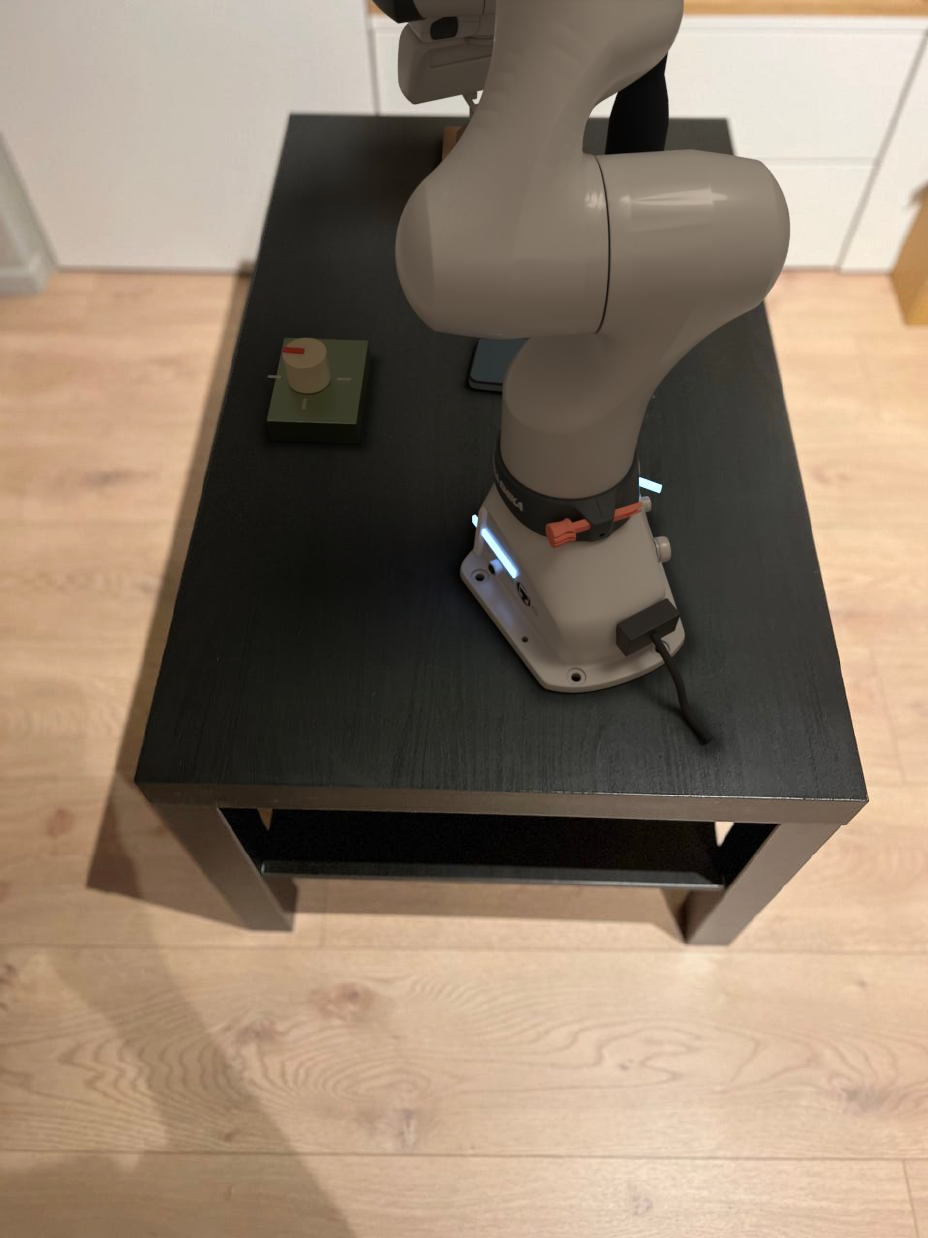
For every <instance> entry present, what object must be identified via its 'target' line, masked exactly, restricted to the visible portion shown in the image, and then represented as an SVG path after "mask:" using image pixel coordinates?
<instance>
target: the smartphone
mask: <svg viewBox="0 0 928 1238" xmlns="http://www.w3.org/2000/svg"><path fill="white" fill-rule="evenodd" d="M528 339H529V338H518V339H505V340H495V339H486V338H478V339H477V342H476V346H475V349H474V354H473V357H472V362H471V365H470V369H469V372H468V386H470V388H472V389H475V390H484V391H494V392H501V393H502V390H503V380H504V376H505V373H506V371H507V369H508V366H509V365H510V363H511V361H512V359H513V357H514V356H515V354H516V353H517V351H518V350H519V349H520V347H521V346H522V345H523V344H524V343H525V342H526V341H527V340H528Z"/></svg>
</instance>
